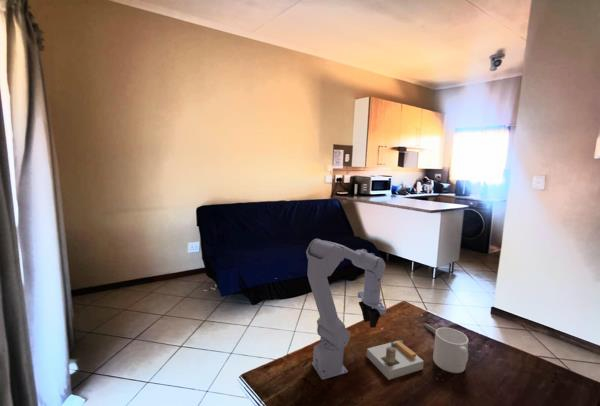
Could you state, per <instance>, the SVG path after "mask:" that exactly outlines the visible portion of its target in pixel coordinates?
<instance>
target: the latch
mask: <svg viewBox="0 0 600 406" xmlns="http://www.w3.org/2000/svg"><path fill="white" fill-rule="evenodd" d="M397 341H398V342H395V341H394V342H395V346H396V347H398V348H399V349H400V350H401V351H403V352H404V353H405V354H406V355H408V356H409V357H410V358H415V357H416V355H417V353H416V352H415V351H413V350H412V349H411V348H410V347H408V346H406V345H405V344H404V342H403V343H402V342H400V341H399V340H397Z"/></svg>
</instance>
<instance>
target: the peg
mask: <svg viewBox="0 0 600 406" xmlns="http://www.w3.org/2000/svg"><path fill="white" fill-rule="evenodd" d="M395 356H396V349H395V348H393V347H387V348H386V361H385V363H386V364H387V365H388V366H393V365H395Z"/></svg>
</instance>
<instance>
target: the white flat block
mask: <svg viewBox="0 0 600 406" xmlns="http://www.w3.org/2000/svg"><path fill="white" fill-rule="evenodd" d="M398 341H400V342H402V343H403V344H404V340H402V339H399V340H395V341H392V342H387V343H385V344H384V343H383V344H380V345H377V346H372V347H368V348H366V358H368V359H369V361H370V362H371V363H372V364H373V365H374V366H375V367H376V368H377V369H378V370H379V371H380V372H381V373H382V374H383V375H384V376H385V378H386V379H387V380H389V381H390V380H392V379H395V378H399V377H403V376H406V375H409V374H411V373H416V372H418V371H421V370H423V369H424V363H425V361H424V360H423V359H422V358H421V357H420V356H418V354H416V357H415V358H410V357H409V356H408V355H406V354H405V353H404V352H403V351H401V350H400V349H399V348H398V347H396V346H395V342H398ZM387 347H393V348H395V349H396V356H395V365H393V366H388V365H387V364H386V363H385V361H386V348H387Z"/></svg>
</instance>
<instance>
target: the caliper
mask: <svg viewBox="0 0 600 406" xmlns="http://www.w3.org/2000/svg"><path fill="white" fill-rule="evenodd" d="M422 325H423V326H424V328H426V329H427V330H429V331H430V332H432V333H433V334H435V333H436V330H437V329H438V328H435V327H433V326H432V325H430V324H428V323H422Z"/></svg>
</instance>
